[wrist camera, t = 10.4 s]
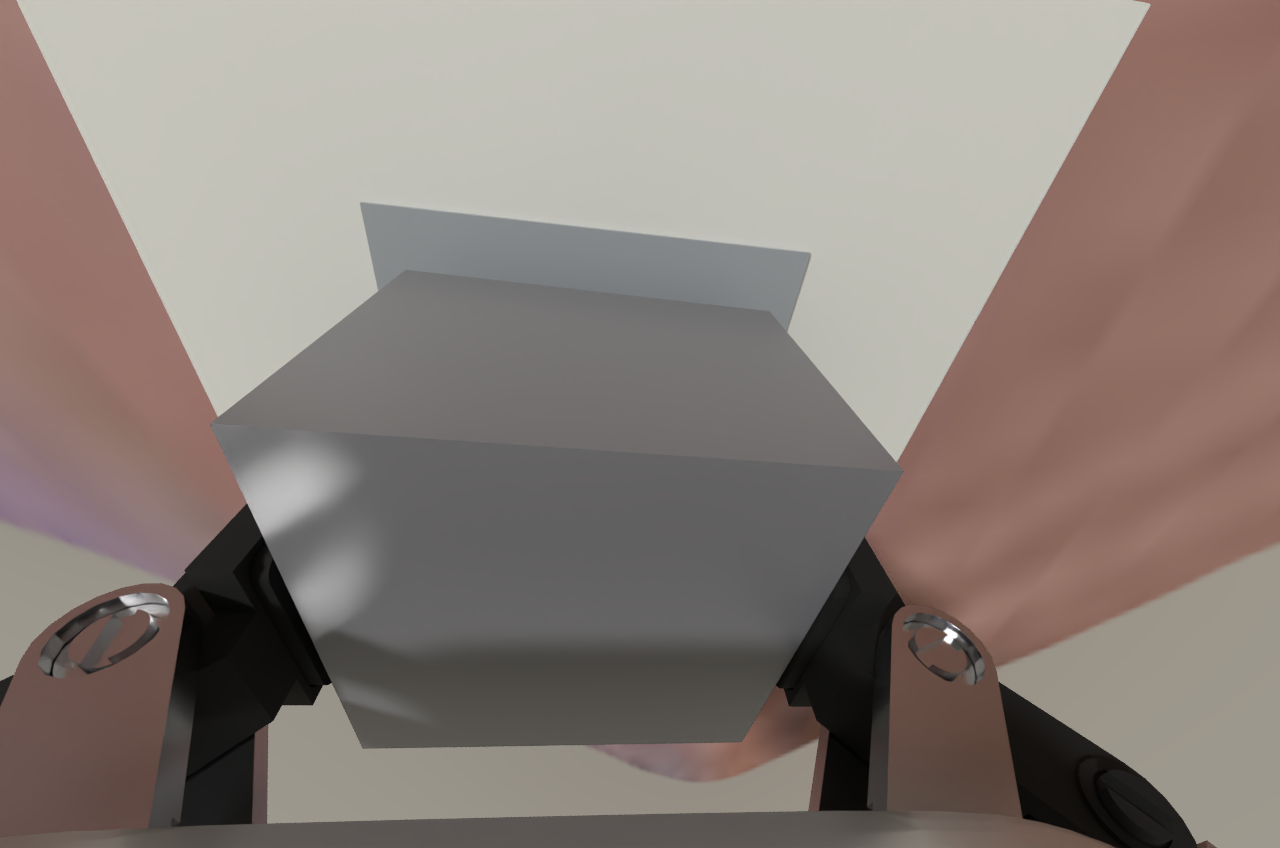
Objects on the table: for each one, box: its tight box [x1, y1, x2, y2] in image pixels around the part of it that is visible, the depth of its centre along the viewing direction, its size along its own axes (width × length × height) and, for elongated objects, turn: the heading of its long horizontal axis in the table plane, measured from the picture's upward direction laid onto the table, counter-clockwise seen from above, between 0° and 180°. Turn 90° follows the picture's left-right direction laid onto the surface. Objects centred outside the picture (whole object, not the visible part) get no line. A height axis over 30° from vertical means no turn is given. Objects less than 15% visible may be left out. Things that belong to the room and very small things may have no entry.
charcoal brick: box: [210, 270, 904, 749], centre depth 9 cm, size 7×7×5 cm
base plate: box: [16, 0, 1151, 462], centre depth 12 cm, size 18×18×1 cm
